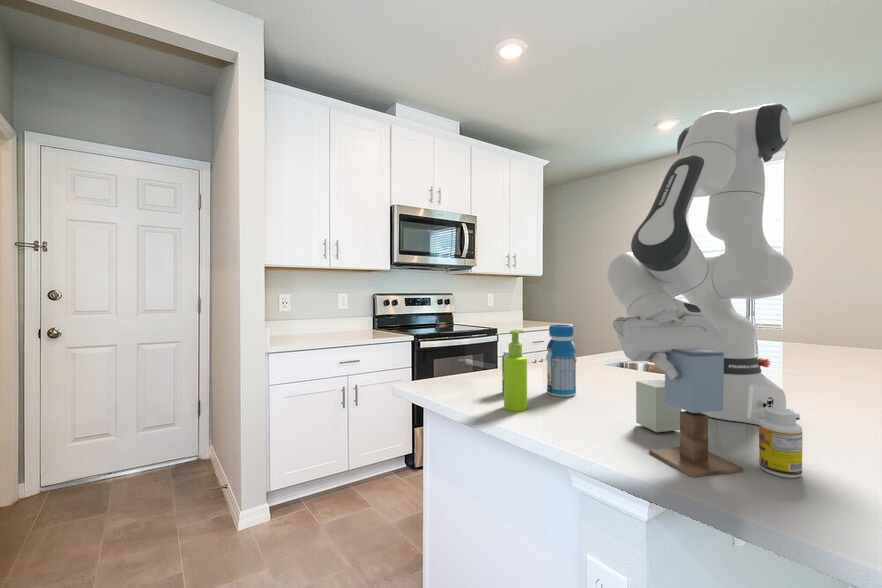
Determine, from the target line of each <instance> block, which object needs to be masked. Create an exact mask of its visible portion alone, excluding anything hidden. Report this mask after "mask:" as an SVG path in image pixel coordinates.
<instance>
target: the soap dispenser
mask: <svg viewBox="0 0 882 588" xmlns="http://www.w3.org/2000/svg"><path fill="white" fill-rule="evenodd" d="M524 333H525V331H524V330H521V329H519V330H518V329H514V330H511V331H509V335H511V342H509V343H508V352H509V356H505V357H504V393H503V409H504V410H507V411H510V412H524V411H526V410H528V359H527V357H526V356H523V344H522V343H520V342H519V334H524Z"/></svg>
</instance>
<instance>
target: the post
mask: <svg viewBox="0 0 882 588" xmlns="http://www.w3.org/2000/svg"><path fill="white" fill-rule="evenodd" d="M648 452H649V454H650V455H652V456H654V457H655V458H656V459H659V460H660V461H662V462H664V463H666V464H668V465H669V466H671V467H674V468H675V469H677V470H679V471H680V472H682V473H684V474H685V475H687V476H688V477H691V478H697V477H704V476H705V477H707V476H714V475H716V476H717V475H724V474H725V475H726V474H733V473H741V472H744V467H743V466H740V465H738V464H737V463H735V462H732V461H729V460H727V459H725V458H723V457H721V456H718V455H717V454H715V453H712V452H710V451H709V416H708V415H706V414H703V413H700V412H698V413H691V412H688V411H686V410H682V411H680V430H679V446H675V447H666V448H665V447H663V448H655V449H649V450H648Z"/></svg>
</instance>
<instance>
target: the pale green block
mask: <svg viewBox="0 0 882 588" xmlns="http://www.w3.org/2000/svg"><path fill="white" fill-rule="evenodd" d="M635 392H636V393H635V396H636V397H635V413H636V414H635V420H636V421H635V423H636V424H638V425H640V426H642V427H644V428H647V430H648V429H649V430H651V431H653V432H655V433H661V432H672V431H673V432H674V431H680V411H683V409H680V408H677V407H675V406H672V405H669V404H666V403H665V379H646V380H645V379H644V380H636V381H635Z"/></svg>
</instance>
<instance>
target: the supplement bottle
mask: <svg viewBox="0 0 882 588" xmlns="http://www.w3.org/2000/svg"><path fill="white" fill-rule="evenodd" d="M758 449H759V450H758V464H759V467H760V468H761V470H762V471H764V472H766V473H768V474H770V475H772V476H777V477H781V478H787V479H796V478H797V479H798V478H800V477H801V476H802V475H803V428H802V426H801V425H800V424H798V423H797V418H796V414H795V412H792V411H790V410H786V409H780V408H766V409H765V419H762V420H760V422H759V425H758Z"/></svg>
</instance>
